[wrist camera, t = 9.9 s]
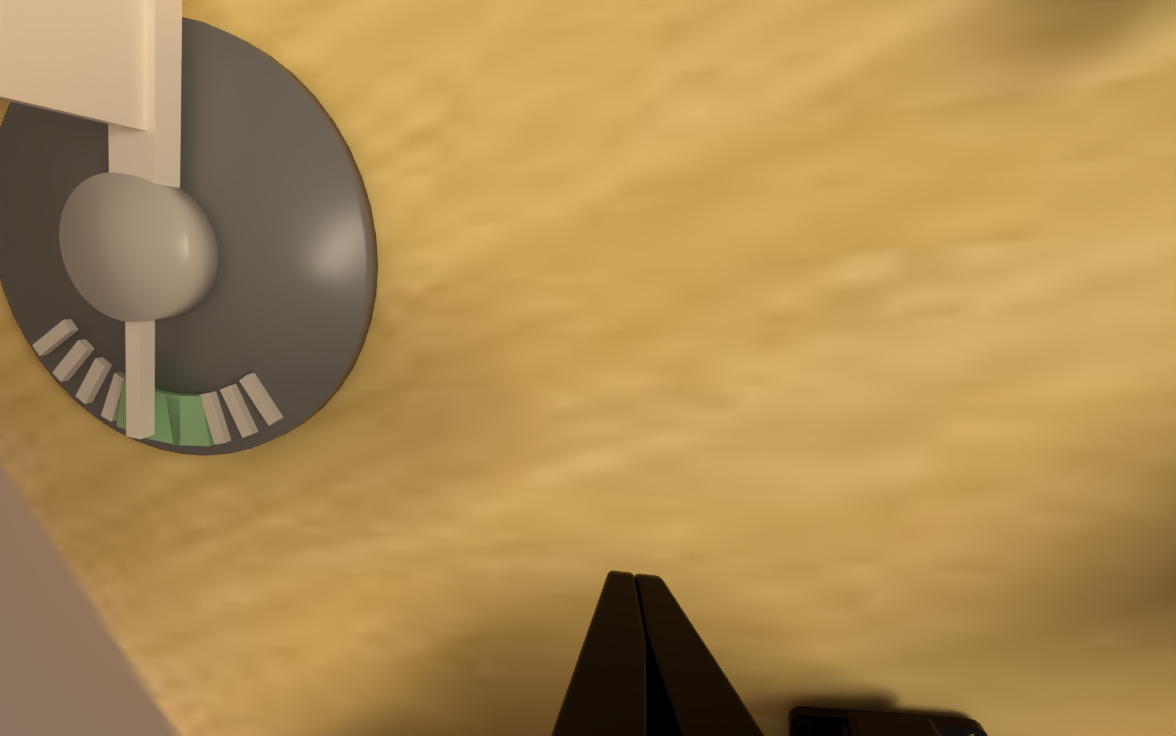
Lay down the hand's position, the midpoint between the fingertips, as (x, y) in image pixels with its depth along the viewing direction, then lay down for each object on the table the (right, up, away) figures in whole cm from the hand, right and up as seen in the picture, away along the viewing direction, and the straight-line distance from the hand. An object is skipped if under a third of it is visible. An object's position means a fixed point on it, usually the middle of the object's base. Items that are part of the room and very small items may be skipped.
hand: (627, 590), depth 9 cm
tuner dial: (-16, +8, +13) cm, 22 cm away
